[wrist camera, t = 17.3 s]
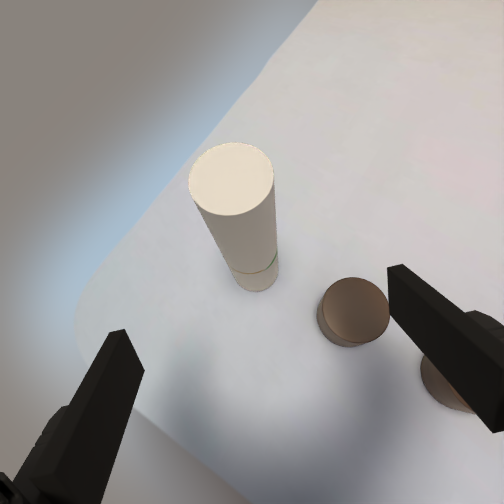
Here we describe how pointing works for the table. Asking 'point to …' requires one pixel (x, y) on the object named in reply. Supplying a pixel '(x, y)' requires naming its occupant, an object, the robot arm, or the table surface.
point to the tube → (239, 210)
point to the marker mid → (353, 312)
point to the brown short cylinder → (442, 388)
